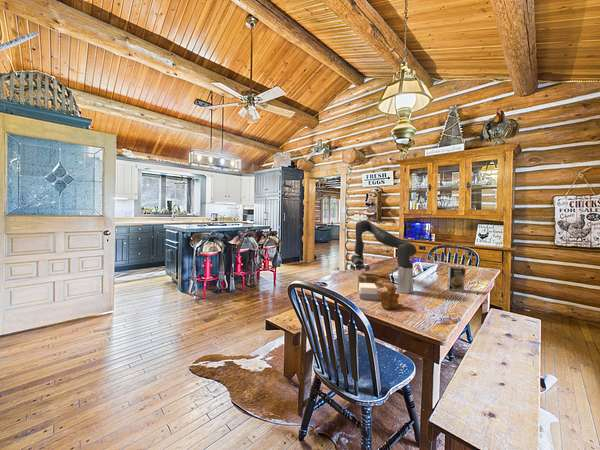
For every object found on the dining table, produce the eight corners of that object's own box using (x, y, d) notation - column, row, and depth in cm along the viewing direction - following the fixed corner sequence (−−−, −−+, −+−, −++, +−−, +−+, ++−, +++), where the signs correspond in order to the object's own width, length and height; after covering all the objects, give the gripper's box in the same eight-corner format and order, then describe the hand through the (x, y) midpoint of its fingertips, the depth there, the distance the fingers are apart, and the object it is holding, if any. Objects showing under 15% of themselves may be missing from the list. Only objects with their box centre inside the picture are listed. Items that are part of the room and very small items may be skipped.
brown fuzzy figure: (404, 307, 149) (405, 285, 148) (388, 312, 141) (388, 289, 140) (390, 301, 157) (390, 280, 156) (374, 306, 150) (374, 284, 149)
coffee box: (449, 291, 177) (450, 268, 176) (446, 288, 184) (448, 266, 182) (464, 292, 175) (465, 269, 173) (461, 289, 181) (462, 267, 180)
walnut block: (364, 289, 179) (365, 275, 179) (365, 291, 174) (366, 277, 174) (357, 289, 180) (358, 275, 179) (358, 291, 175) (358, 277, 174)
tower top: (374, 289, 169) (374, 283, 169) (376, 294, 159) (376, 288, 159) (358, 288, 171) (359, 282, 170) (360, 293, 161) (360, 287, 160)
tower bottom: (375, 295, 170) (375, 289, 169) (377, 301, 159) (378, 295, 158) (358, 294, 171) (358, 288, 171) (359, 300, 160) (359, 294, 160)
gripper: (349, 259, 204) (350, 264, 188) (368, 260, 202) (370, 265, 186) (349, 268, 205) (350, 273, 189) (367, 269, 203) (370, 275, 187)
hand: (360, 269), depth 188 cm, fingers open, 8 cm apart
